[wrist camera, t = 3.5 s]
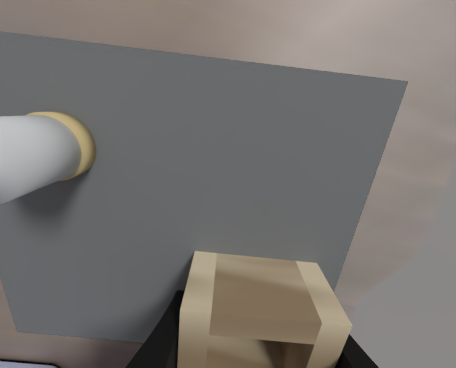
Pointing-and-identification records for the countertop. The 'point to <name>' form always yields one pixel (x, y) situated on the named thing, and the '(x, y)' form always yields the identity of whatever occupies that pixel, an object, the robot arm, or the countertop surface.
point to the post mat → (169, 174)
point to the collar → (259, 314)
